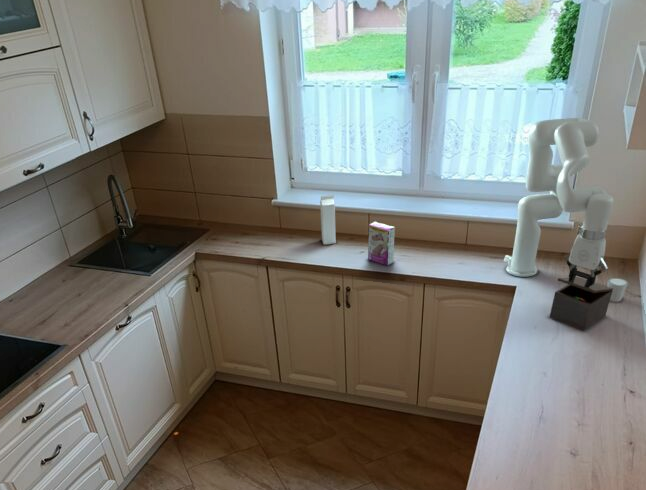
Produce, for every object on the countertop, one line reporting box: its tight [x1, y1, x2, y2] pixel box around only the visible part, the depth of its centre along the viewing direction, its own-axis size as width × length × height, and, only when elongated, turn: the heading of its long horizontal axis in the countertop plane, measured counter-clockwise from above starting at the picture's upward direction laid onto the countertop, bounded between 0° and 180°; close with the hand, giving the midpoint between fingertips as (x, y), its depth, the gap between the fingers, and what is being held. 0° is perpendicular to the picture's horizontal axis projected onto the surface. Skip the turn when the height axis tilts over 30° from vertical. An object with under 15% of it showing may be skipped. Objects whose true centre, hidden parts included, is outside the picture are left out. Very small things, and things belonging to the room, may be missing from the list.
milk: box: [319, 195, 337, 245], centre depth 279 cm, size 6×6×22 cm
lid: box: [557, 269, 613, 293], centre depth 210 cm, size 16×14×5 cm
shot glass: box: [606, 277, 629, 303], centre depth 227 cm, size 7×7×7 cm
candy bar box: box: [367, 221, 396, 266], centre depth 260 cm, size 11×5×16 cm, turn 48°
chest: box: [549, 284, 612, 332], centre depth 216 cm, size 15×14×10 cm
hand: (580, 282), depth 207 cm, fingers closed on lid, 6 cm apart
